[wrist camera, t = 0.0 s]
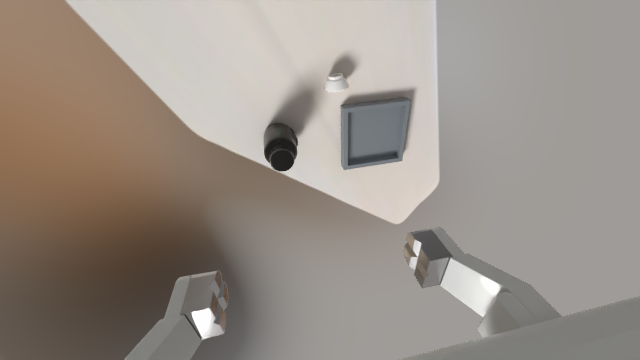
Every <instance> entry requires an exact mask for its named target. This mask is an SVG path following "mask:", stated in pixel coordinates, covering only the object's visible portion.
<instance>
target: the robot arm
mask: <svg viewBox="0 0 640 360" xmlns="http://www.w3.org/2000/svg"><path fill="white" fill-rule="evenodd" d="M406 241H407V243H406V244H405V246H404V257H405V259H406V262H407V264H408V265H409V267H411V268H412V269H414V270H415V273H414V275H415V277H416V279H417V281H418V282H419V284H420V286H421V287H422V288H426V287H430V286H436V285H440V286H442V287H443V288H444V289H446V290H447V291H448V292H450V293H451V294H452V295H454V296H455V297H456V298H458V299H459V300H460V301H462V302H463V303H464V304H466V305H467V306H469V307H470V308H471V309H473V310H474V311H475V312H477V313H478V314H479V315H481V316H482V317H483V319H482V321H481V322H480V324H479V325H478V331H479V333H480V334H481V335H482V337H483V338H480V339H476V340H472V341H468V342H464V343H461V344H457V345H453V346H449V347H446V348H442V349H438V350H434V351H430V352H427V353H423V354H419V355H415V356H412V357H408V358H404V359H400V360H640V296H638V297H634V298H630V299H626V300H623V301H619V302H615V303H611V304H608V305H604V306H601V307H596V308H593V309H589V310H585V311H582V312H578V313H574V314H570V315H566V316H561V315H560V314H559V313H558V312H557V311H556V310H555V309H554V308H553V307H552V306H551V305H550V304H549V303H548V302H547V301H546V300H545V299H544V298H543V297H542V296H541V295H540V294H539V293H538V292H537V291H536V290H535V289H534V288H533V287H532V286H531V285H530V284H528V283H526V282H524V281H522V280H520V279H518V278H516V277H514V276H512V275H510V274H508V273H506V272H504V271H502V270H500V269H498V268H496V267H494V266H492V265H490V264H488V263H486V262H484V261H482V260H480V259H478V258H476V257H474V256H472V255H470V254H464V252H462V250H461V249H460V248H459V247H458V246H457V244H456V243H455V242H454V241H453V240H452V239H451V238H450V237H449V235H448V234H447V233H446V232H445V231H444V229H442V228H441V227H436V228H430V229H424V230H420V231H415V232H411V233H408V234H407V235H406ZM221 279H222V275H221V273H220V271H214V272H208V273H203V274H197V275H191V276H185V277H180V278H179V279H178V280H177V281H176V284H175V287H174V290H173V293H172V296H171V299H170V302H169V305H168V308H167V311H166V314H165V318H164V319H162V320H159V322H158V323H157V324H156V325H155V326H154V327H153V328H152V329H151V330H150V331H149V333H148V334H147V335H146V336H145V337H144V338H143V339H142V340H141V341H140V343H139V344H138V345H137V346H136V347H135V348H134V349H133V350H132V351H131V353H130V354H129V355H128V356H127V357H126V358H125V359H124V360H190V359H191V357H192V356H193V353H194V352H195V351H196V349H197V347H198V346H199V344H200V343H201V341H202V340H201V339H205V338H208V337H213V336H216V335H220V334H224V330H225V322H226V315H225V313H224V310H225V308H226V307H227V305H228V290H227V286H226V283H225V282H223V281H221Z"/></svg>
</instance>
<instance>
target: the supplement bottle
mask: <svg viewBox="0 0 640 360" xmlns="http://www.w3.org/2000/svg"><path fill="white" fill-rule="evenodd" d="M289 131H290V132H292V131H291V129H290V128H289V127H288V126H286V125H284V124H273V125H271V126H269V127H268V128H267V129H266V131H265V133H264V155H265V158H266V160H267V161H268V162H269V163H270V164H271V166H272V167H273V169H275V170H277V171H287V170H289V169H290V168H291V167H292V166H293V164H294V160H295V159H296V156H297V147H296V143H295V139H294V137H293V135H292V134H291V133H290V132H289ZM293 153H294V154H293Z"/></svg>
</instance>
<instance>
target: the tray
mask: <svg viewBox="0 0 640 360" xmlns="http://www.w3.org/2000/svg"><path fill="white" fill-rule="evenodd" d="M410 102H411V100H409V99H407V98H398V99H390V100H382V101H374V102H365V103H357V104H349V105H341V165H342V167H343V169H344V170H347V169H353V168H359V167H366V166H372V165H379V164H385V163H391V162H398V161H402V158H403V151H404V144H405V137H406V130H407V123H408V116H409V109H410Z"/></svg>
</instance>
